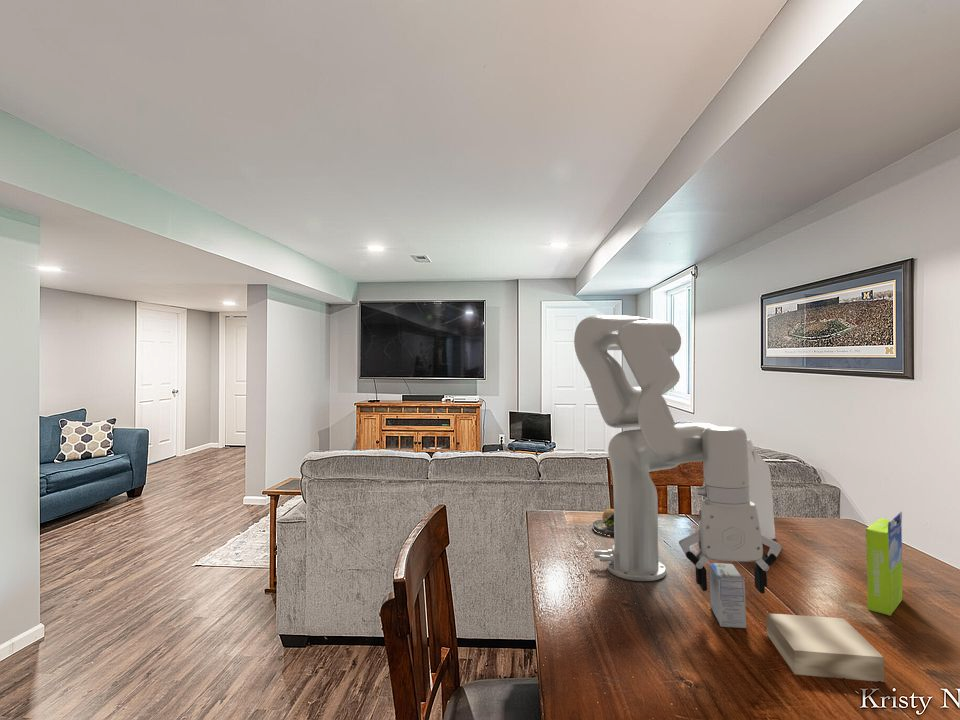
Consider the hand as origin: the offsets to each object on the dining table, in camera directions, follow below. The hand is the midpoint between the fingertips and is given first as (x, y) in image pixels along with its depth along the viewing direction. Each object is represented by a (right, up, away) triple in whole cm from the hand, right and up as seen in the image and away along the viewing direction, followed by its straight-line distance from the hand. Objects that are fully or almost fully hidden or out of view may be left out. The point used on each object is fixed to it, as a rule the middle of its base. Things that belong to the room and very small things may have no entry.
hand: (731, 589), depth 97 cm
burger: (-8, -6, +52) cm, 53 cm away
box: (+32, -5, +5) cm, 33 cm away
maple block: (+9, -6, -12) cm, 16 cm away
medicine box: (0, -6, +1) cm, 6 cm away
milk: (+24, -6, +46) cm, 52 cm away
